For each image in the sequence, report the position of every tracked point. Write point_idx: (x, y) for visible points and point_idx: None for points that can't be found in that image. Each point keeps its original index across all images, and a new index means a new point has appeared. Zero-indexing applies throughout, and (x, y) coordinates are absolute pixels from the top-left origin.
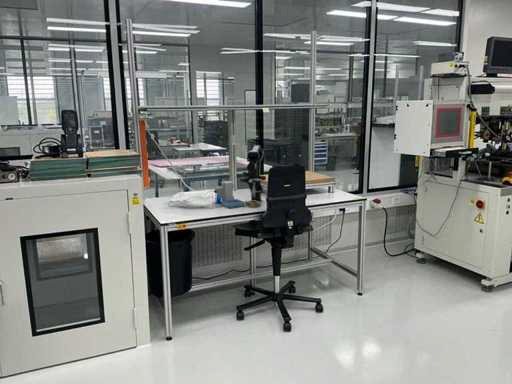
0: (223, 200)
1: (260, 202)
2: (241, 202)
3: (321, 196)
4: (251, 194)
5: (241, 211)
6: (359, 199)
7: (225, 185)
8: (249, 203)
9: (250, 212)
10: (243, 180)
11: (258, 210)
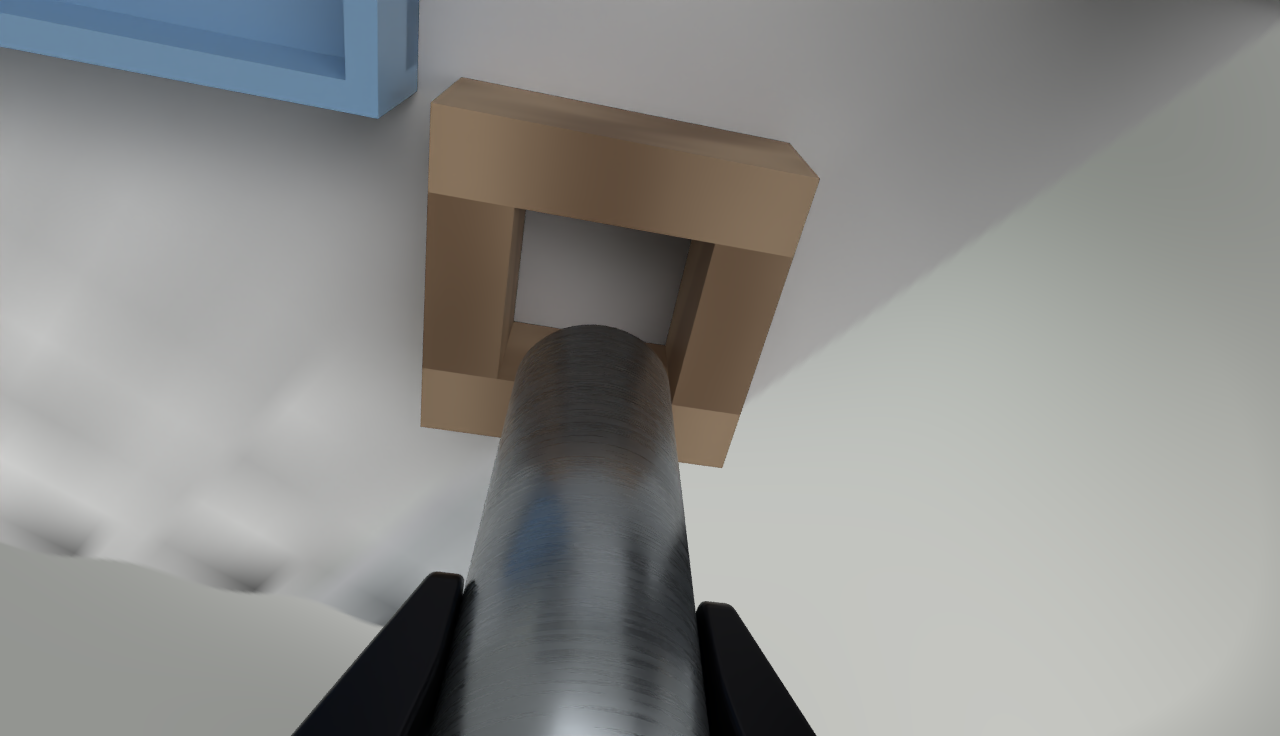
0: None
1: (704, 461)
2: (235, 88)
3: None
4: (494, 465)
5: (52, 424)
6: None
7: None
8: (427, 320)
9: (200, 564)
10: None
11: (419, 565)
